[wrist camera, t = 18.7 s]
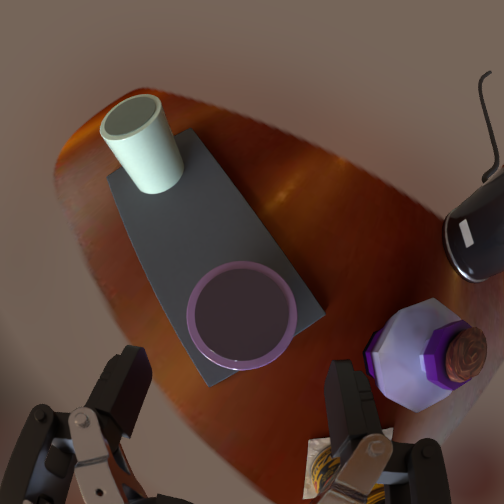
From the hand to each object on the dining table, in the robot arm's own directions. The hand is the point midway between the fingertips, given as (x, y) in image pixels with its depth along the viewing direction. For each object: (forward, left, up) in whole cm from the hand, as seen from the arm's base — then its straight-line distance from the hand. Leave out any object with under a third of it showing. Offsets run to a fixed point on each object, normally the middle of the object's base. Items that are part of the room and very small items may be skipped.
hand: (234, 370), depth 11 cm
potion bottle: (-11, +8, -13) cm, 18 cm away
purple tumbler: (-2, -2, -12) cm, 12 cm away
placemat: (-2, -12, -12) cm, 18 cm away
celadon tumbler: (-2, -21, -12) cm, 24 cm away
